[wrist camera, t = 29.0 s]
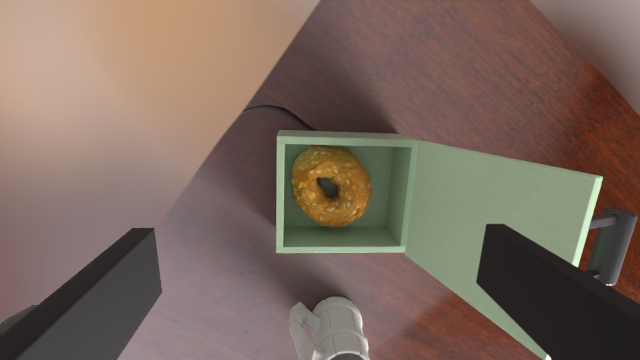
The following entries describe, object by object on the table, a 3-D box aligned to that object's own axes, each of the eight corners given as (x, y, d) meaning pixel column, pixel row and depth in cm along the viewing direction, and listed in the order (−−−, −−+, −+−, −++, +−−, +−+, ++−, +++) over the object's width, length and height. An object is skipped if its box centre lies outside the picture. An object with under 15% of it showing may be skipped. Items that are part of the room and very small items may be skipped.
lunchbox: (278, 229, 42) (275, 253, 36) (279, 129, 39) (276, 135, 32) (388, 229, 44) (405, 252, 37) (398, 133, 40) (419, 140, 34)
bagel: (340, 125, 39) (347, 129, 34) (379, 196, 41) (390, 208, 37) (273, 166, 39) (270, 175, 34) (316, 233, 42) (319, 249, 37)
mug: (342, 344, 48) (358, 422, 36) (276, 314, 46) (270, 387, 34) (369, 307, 47) (394, 375, 35) (302, 274, 44) (306, 335, 33)
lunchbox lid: (545, 361, 22) (623, 330, 25) (596, 177, 18) (677, 170, 22) (404, 254, 37) (466, 243, 40) (418, 140, 33) (484, 140, 37)
